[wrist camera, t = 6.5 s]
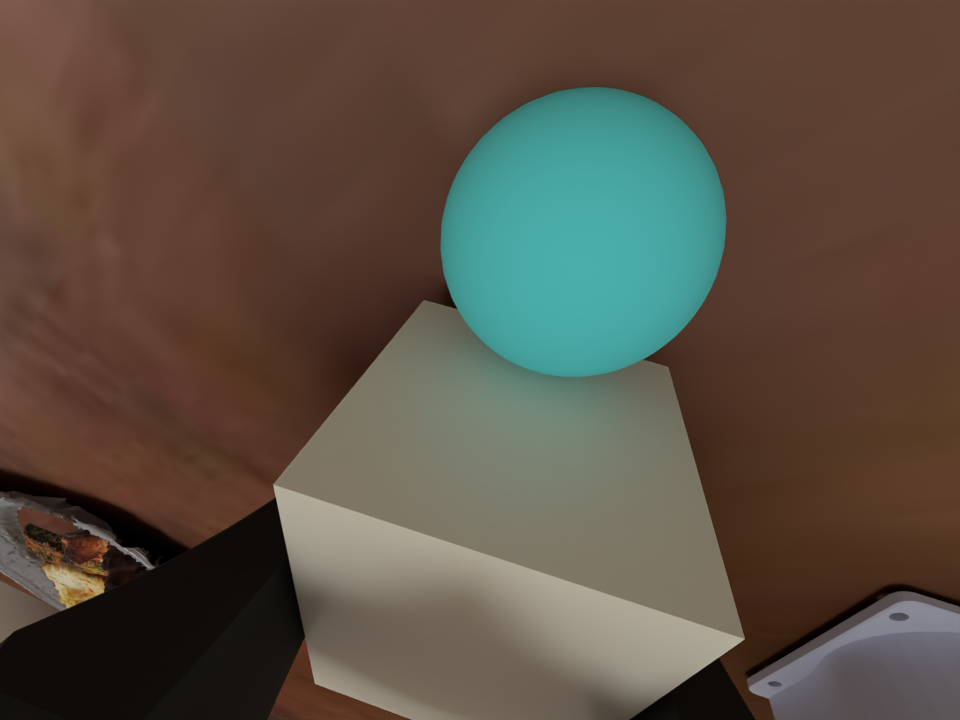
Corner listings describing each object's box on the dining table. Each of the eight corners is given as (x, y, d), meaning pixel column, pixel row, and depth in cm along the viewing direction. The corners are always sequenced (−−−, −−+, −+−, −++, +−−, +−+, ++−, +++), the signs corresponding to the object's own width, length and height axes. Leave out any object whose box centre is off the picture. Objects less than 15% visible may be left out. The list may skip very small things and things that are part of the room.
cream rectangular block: (566, 546, 14) (553, 772, 10) (403, 494, 15) (314, 683, 10) (668, 366, 10) (745, 639, 5) (424, 300, 10) (273, 484, 5)
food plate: (222, 534, 24) (171, 594, 21) (289, 673, 37) (263, 720, 34) (-90, 426, 28) (-169, 465, 25) (73, 588, 41) (34, 624, 38)
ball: (640, 450, 8) (842, 275, 4) (411, 381, 9) (370, 162, 4) (655, 280, 11) (787, 66, 6) (478, 235, 11) (494, 10, 7)
